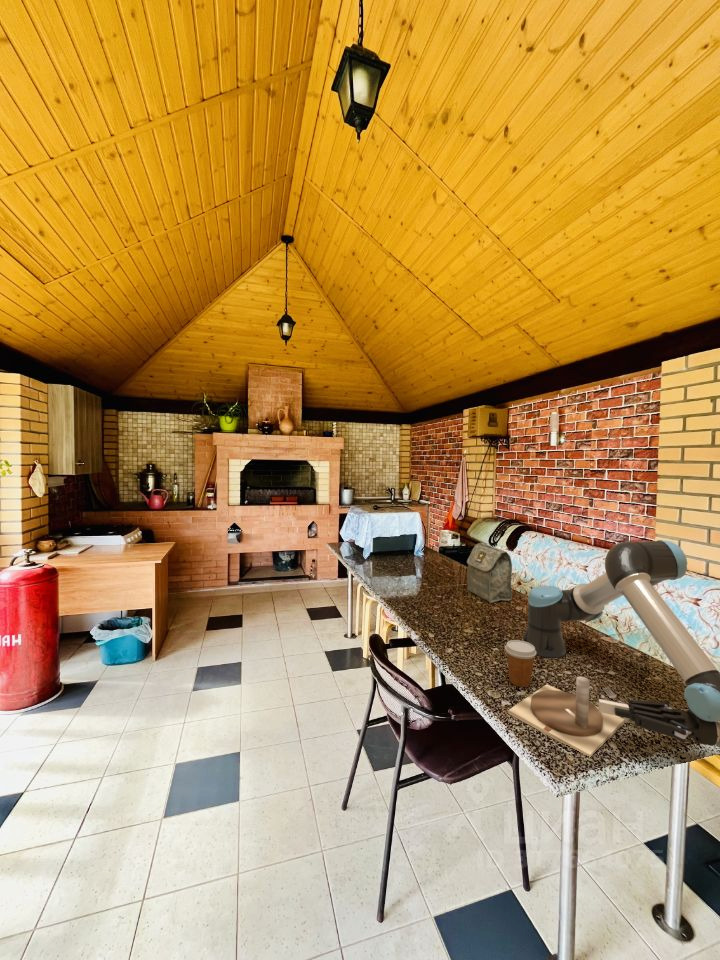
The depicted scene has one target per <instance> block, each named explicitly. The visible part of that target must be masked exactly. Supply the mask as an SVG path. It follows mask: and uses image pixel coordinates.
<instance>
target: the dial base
mask: <svg viewBox="0 0 720 960" xmlns="http://www.w3.org/2000/svg"><path fill="white" fill-rule="evenodd" d="M544 690H557V691H562V690H561V689H558V688H556V687H554V686H552V685H550V684H547V683H546V684H545V685H542V687H540V688H539V689H538V690H535V691H534V692H533V693H532V694H529V696H527V697H525V698H524V699H522V700H521V701H520V702H518V703H517V704H515V705H514V706H512V707H510V708H508V709H507V710H508V712H507V713H508V715H510V716H512V717H514V718H515V719H517V720H520V721H521V722H522V723H524V724H527V725H529V726H530V727H532V728H534V729H536V730H537V731H539V732H541V733H542V734H545V735H546V736H548V737H550V738H551V739H553V740H556V741H557V742H559V743H561V744H562V743H563V744H562V745H564V744H565V745H564V746H566V745H568V746H570V747H571V748H573V749H575V750H577V751H579V752H581V753H583V754H585V755H587V756H589V757H591V756H592V755H593V754H594V753H595V752H596V751H597V750H598V749H599V748H600V747H601V746H602V745H603V744H604V743H605V742H606V741H607V740H608V741H609V740H610V739H611V738H612V737H613V736H614V735H615V734H616V732H617V731H618V730H619V729H620V728H621V727H622V726H623V725H624V724H625V722H626V720H625V718H624V717H620V716H615V715H611V714H606V713H601V714H602V716H603V727H602V729H601V730H600V731H599V732H598V733H596V734H592V735H584V736H583V735H573V734H568V733H564V732H561V731H558V730H556V729H554V728H552V727H550V726H548V725H546V724H545V723H543V722H542V721H541V720H539V719H538V718H537V717H536V716H535V715H534V713H533V711H532V709H531V698H532V696H533V695H534V694H535V693H537V692H540V691H544ZM594 706H595V707H597V708H598V705H597V706H596V705H594ZM598 710H599V709H598ZM608 741H607V742H608ZM607 742H606V743H607ZM606 743H605V744H606ZM605 744H604V745H605ZM604 745H603V746H604ZM568 746H567V747H568ZM603 746H602V747H603ZM570 747H569V748H570ZM602 747H601V748H602ZM571 748H570V749H571ZM601 748H600V749H601ZM573 749H572V750H573ZM600 749H599V750H600ZM575 750H574V751H575ZM599 750H598V751H599ZM577 751H576V752H577ZM598 751H597V752H598ZM579 752H578V753H579ZM597 752H596V753H597ZM596 753H595V754H596ZM595 754H594V755H595ZM594 755H593V756H594ZM593 756H592V757H593ZM592 757H591V758H592Z"/></svg>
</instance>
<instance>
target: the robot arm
mask: <svg viewBox="0 0 720 960" xmlns="http://www.w3.org/2000/svg"><path fill="white" fill-rule="evenodd" d="M604 569H605V572H604V573H603V574H601V575H600V576H598V577H597V578H595V579H594V580H592V581H590V582H588V583H579V584H577V585H575V586H574V587H572V588H570V589H561V588H560V587H557V586H555V585H547V584H546V585H538V586H534V587H532V588H531V589H530V590H529V592H528V599H527V602H528V604H527V605H528V607H527V608H528V610H527V612H528V613H527V614H528V615H527V627H526V630H525V632H524V635H523V637H522V641H525V642H528V643H530V644H532V645H533V646H534V647H535V650H536V655H535V656H540V657H542V658H550V659H551V658H554V659H555V658H560V657H563V656H565V655H566V651H567V650H566V649H567V647H566V642H565V639H564V637H563V634H562V623H565V622H583V621H586V622H590V621H595V620H597V619H600V618H601V617H602V616H603V614H604V610H605V605H607V604H609V603H612V602H613V601H615V600H618V599H619V598H621V597H622V596H623V597H624V598H625V599H626V601H627V602H628V604H629V605H630V607H631V608H632V609H633V611H634V612H635V613H636V616H638V618H639V619H640V621H641V623H643V624H644V626H645V628H646V629H647V630H648V632H649V633H650V634H651V636H652V638H653V639H654V640H655V642H656V643H657V645H658V646H659V647H660V649H661V651H662V652H663V653H664V654H665V656H666V657H667V659H668V660H669V662H670V663H671V665H672V666H673V668H674V669H675V670H676V672H677V673H678V674H679V676H680V677H681V679H682V681H684V683H685V685H686V687H685V689H684V693H683V694H684V699H685V701H686V704H687V707H688V710H687V711H684V710H682V709H681V710H680V709H677V708H672V707H671V706H670V702H668V701H665V700H664V701H652V700H651V701H649V700H638V699H637V700H635V699H629V700H628V702H627V703H625V704H622V703H620V702H618V701H617V702H616V701H611V700H606V699H602V698H601V699H600V698H598V705H597V707H598V709H599V712H601V713H606V714H611V715H615V716H619V717H621V718H624V719H625V718H626V719H629V720H630V721H632V722H634V725H635V726H637V727H639V728H643V729H646V730H649V731H652V732H655V733H658V734H661V735H665V736H668V737H671V738H673V739H675V740H678V741H680V742H682V743H686V741H687V737H689V738H691V739H692V740H693V741H694V742H695V743H697V744H703V745H705V746H706V745H707V746H712V747H714V746H716V747H717V748H720V670H719V669H718V668H717V667H716V665H715V664H714V662H712V661H711V659H710V657H708V655H707V654H706V653H705V651H704V650H703V649H702V647H701V646H700V645H699V643H697V641H696V640H695V639H694V637H693V636H692V634H691V633H690V632H689V631H688V629H687V628H686V627H685V626H684V624H683V623H682V622H681V620H680V619H679V618H678V616H677V615H676V614H675V612H674V611H673V609H671V608H670V606H669V605H668V603H666V601H665V600H664V598H662V596H661V595H660V593H659V592H658V591H657V590H656V588H655V587H654V586H656V585H659V584H660V583H662V582H664V581H669V580H670V581H676V580H679V579H681V578H683V577H685V574H686V573H687V571H688V559H687V556H686V553H685V552H684V551H683V549H682V548H681V547H680V546H679V545H678V544H677V543H676V542H675V543H674V542H672V541H670V540H662V539H660V540H659V539H658V540H649V541H648V540H645V541H643V540H642V541H641V540H639V541H629V540H628V541H622V542H619V543H616V544H615V545H613V546H612V547H610V548H609V550H608V552H607V553H606V555H605V560H604Z"/></svg>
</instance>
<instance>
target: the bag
mask: <svg viewBox="0 0 720 960" xmlns="http://www.w3.org/2000/svg"><path fill="white" fill-rule="evenodd" d="M466 564H467V570H466V572H467V574H466V576H467V578H466V579H467V580H466V582H467V589H466V590H467V591H468V592H471V593H473V594H474V595H476V596H478V597H480V598H481V599H483V600H485V601H487V602H489V603H490V604H493V603H496V602H499V601H511V600H512V597H513V596H512V595H513V594H512V575H513V574H512V573H513V564H512V558H511V556H510V554H509V553H508V551H505V550H502V549H500V548H497V547H495V546H491V545H488V544H486V542H484V541H483V542H479V543H477V544H475V545H474V547H473V548H472V550H471V551H470V555H469V556H468V558H467V560H466Z"/></svg>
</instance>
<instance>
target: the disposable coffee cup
mask: <svg viewBox="0 0 720 960" xmlns="http://www.w3.org/2000/svg"><path fill="white" fill-rule="evenodd" d="M504 650H505V652H506V658H507V668H508V678H509V681H510V683H511V684H513V685H514V686H517V687H520V688H525V687H526V688H527V687H529V686H530V685H531V679H532V674H533V669H534V663H535V657H536V656H537V655H536V650H535V647H534V646H533V645H532V644H530V643H528V642H525V641H523V640H519V639H515V640H514V639H513V640H508V641H507V642H506V644H505V646H504Z"/></svg>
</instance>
